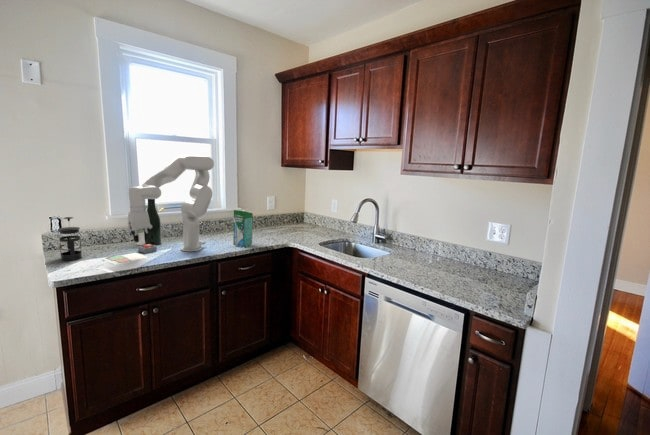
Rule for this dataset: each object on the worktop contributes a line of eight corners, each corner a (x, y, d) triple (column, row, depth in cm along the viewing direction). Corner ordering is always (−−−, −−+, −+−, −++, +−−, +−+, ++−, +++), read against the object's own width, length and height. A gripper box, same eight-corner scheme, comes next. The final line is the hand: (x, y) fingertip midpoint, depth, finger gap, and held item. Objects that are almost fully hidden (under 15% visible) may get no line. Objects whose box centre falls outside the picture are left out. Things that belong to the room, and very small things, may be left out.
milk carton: (252, 245, 222) (252, 209, 219) (243, 247, 214) (244, 211, 210) (241, 243, 226) (242, 208, 222) (233, 245, 218) (233, 209, 214)
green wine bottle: (161, 244, 211) (160, 195, 206) (143, 246, 206) (141, 195, 201) (161, 241, 220) (159, 193, 215) (143, 242, 215) (142, 193, 210)
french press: (59, 257, 174) (55, 216, 170) (80, 255, 180) (77, 215, 177) (61, 263, 166) (58, 219, 162) (84, 260, 172) (81, 218, 169)
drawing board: (136, 253, 189) (136, 251, 188) (151, 258, 180) (151, 256, 180) (98, 261, 172) (98, 259, 172) (113, 267, 163) (113, 265, 163)
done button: (149, 248, 194) (148, 243, 193) (152, 249, 192) (152, 244, 191) (142, 249, 190) (142, 244, 190) (146, 250, 188) (146, 246, 188)
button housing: (150, 250, 196) (150, 244, 195) (156, 252, 192) (156, 246, 192) (138, 253, 190) (138, 246, 189) (145, 255, 186) (144, 248, 186)
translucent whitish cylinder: (142, 242, 182) (141, 228, 180) (146, 243, 180) (145, 230, 178) (135, 244, 178) (134, 230, 177) (139, 245, 176) (138, 231, 175)
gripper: (149, 206, 184) (151, 237, 188) (118, 210, 170) (121, 243, 174) (156, 207, 180) (159, 239, 184) (125, 211, 166) (128, 245, 170)
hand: (140, 240), depth 179 cm, fingers closed on translucent whitish cylinder, 4 cm apart
